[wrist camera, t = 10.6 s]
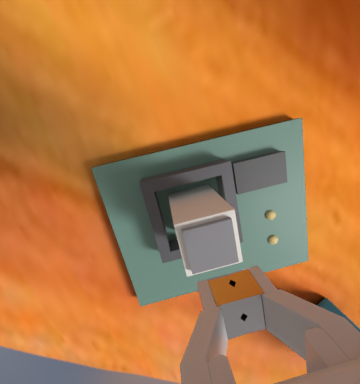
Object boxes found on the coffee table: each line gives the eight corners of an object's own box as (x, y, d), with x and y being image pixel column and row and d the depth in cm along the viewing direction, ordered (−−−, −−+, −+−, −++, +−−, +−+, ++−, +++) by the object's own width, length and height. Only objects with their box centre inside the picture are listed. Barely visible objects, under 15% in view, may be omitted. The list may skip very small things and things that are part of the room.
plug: (207, 184, 19) (237, 211, 12) (215, 225, 21) (246, 271, 13) (167, 194, 19) (174, 227, 12) (178, 235, 20) (189, 287, 13)
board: (293, 118, 20) (318, 115, 17) (301, 254, 24) (322, 271, 21) (95, 166, 19) (83, 172, 16) (141, 298, 23) (139, 322, 20)
